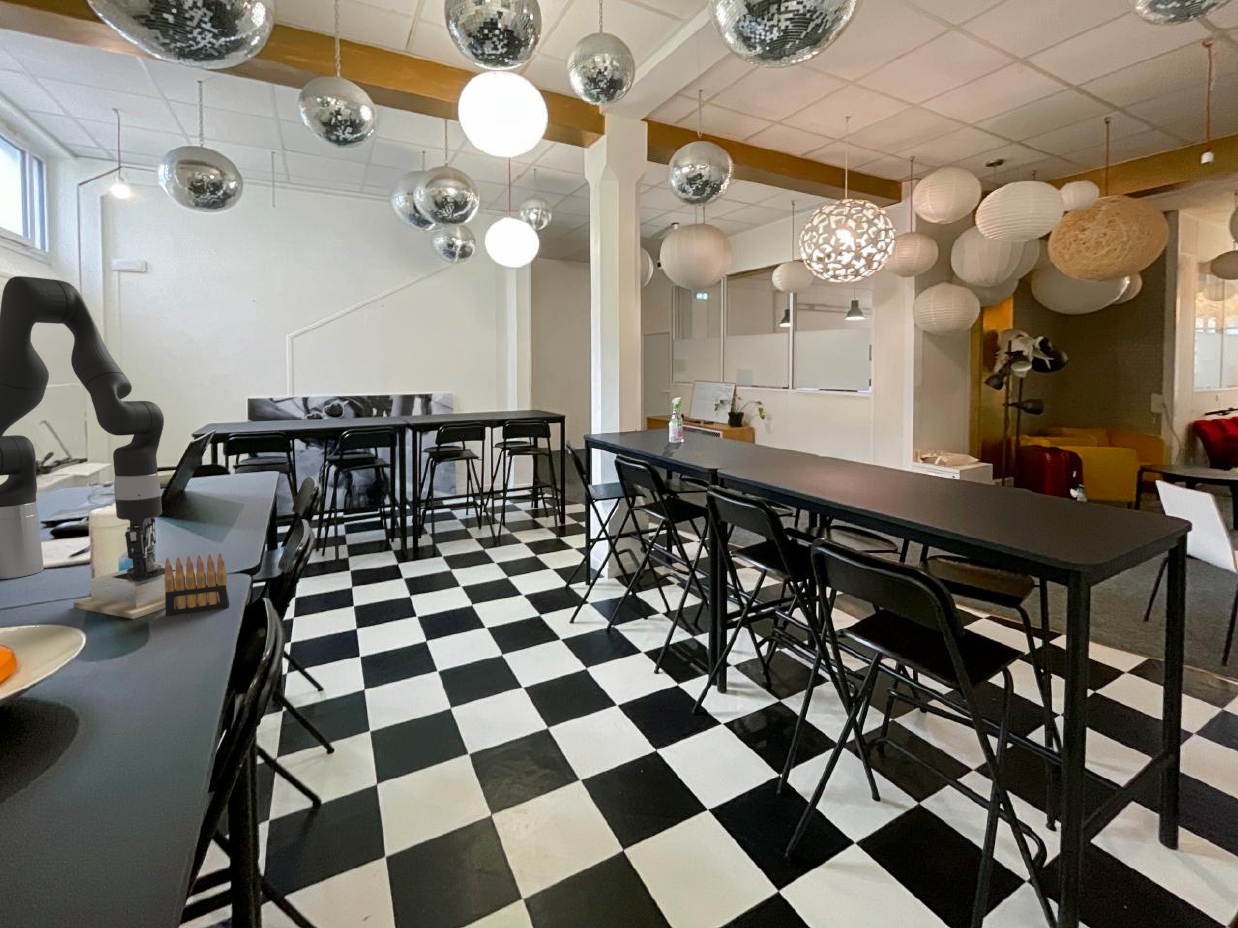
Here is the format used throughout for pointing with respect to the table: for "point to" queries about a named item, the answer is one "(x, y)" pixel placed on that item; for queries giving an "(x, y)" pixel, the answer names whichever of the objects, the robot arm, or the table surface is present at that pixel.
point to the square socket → (130, 588)
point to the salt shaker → (151, 567)
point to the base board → (119, 608)
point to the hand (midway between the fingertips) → (144, 570)
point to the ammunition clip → (195, 587)
